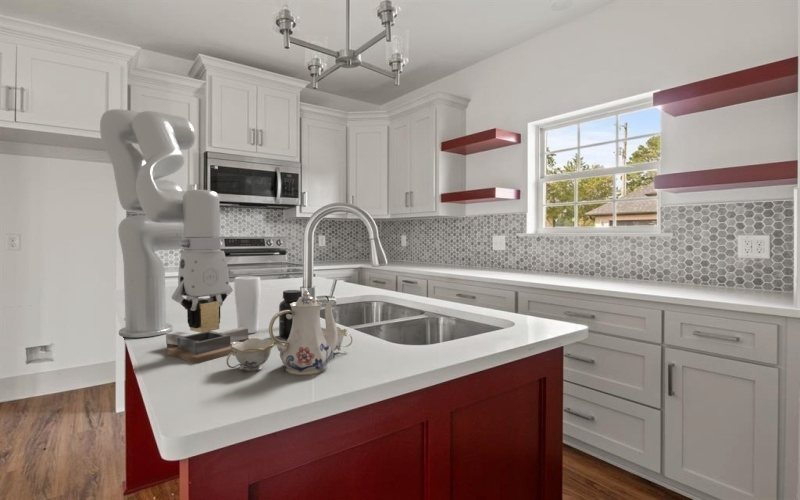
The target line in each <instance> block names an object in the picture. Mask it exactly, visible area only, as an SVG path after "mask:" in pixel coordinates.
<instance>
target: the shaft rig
mask: <svg viewBox="0 0 800 500" xmlns="http://www.w3.org/2000/svg"><path fill="white" fill-rule="evenodd" d="M247 339H250V338H249V334H248V328H243V327H241V328H238V327H237V328H232V329H227V330H223V331H218V332H215V331H214V330H212V331H207V332H203V333H200V332H197V333H190V332H184V331H175V330H173V331H170V332H168V333H165V343H166V351H165V352H166V355H169V356H172V357H175V358H179V359H182V360H184V361H187V362H191V363H194V364H201V363H204V362H207V361H212V360H215V359H219V358H222V357H226V356H228V355H229V354H230V353H231V352H234V351H233V350H232V349H231V347H232V346H231V345H232V343H233V342H237V341H238V342H244V341H246V340H247Z"/></svg>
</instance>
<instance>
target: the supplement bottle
mask: <svg viewBox="0 0 800 500" xmlns="http://www.w3.org/2000/svg"><path fill="white" fill-rule="evenodd" d="M302 294H303V292H302V290H300V289H287V290H284V291H282V299H283V300H282V301H281V302H280V303H279V305H278V312H280V311H284V310H291V311H292V308H291V305H290V304H291V303H293V302H297V300H298V299H299V298H300V297H302V296H303V295H302ZM287 314H291V315H292V313H291V312H288V313H284V314H282V315H280V316H279V317H278V335H279V337H280V338H281V339H285V340H286V339H287V340H288V338H289V335H290V332H291V328H292V322H293V317H292V318H291V319H287V317H286V315H287Z"/></svg>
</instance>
